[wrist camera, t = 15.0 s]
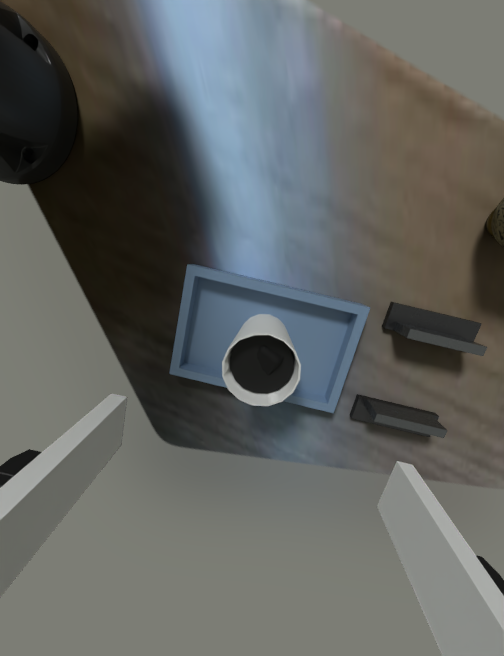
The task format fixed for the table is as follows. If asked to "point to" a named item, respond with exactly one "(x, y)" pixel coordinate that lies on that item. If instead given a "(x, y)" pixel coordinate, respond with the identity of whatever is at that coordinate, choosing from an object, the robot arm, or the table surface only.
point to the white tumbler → (261, 362)
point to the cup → (497, 223)
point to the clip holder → (422, 329)
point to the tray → (281, 302)
